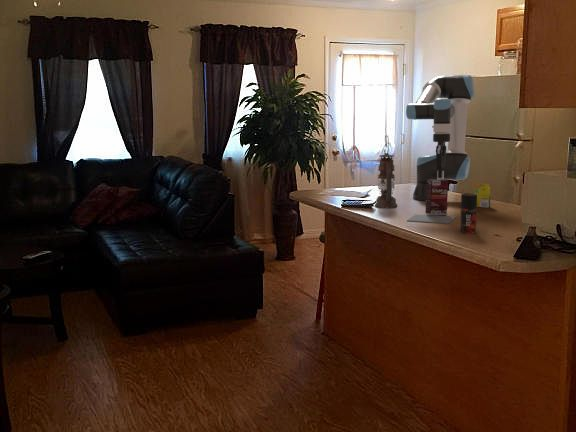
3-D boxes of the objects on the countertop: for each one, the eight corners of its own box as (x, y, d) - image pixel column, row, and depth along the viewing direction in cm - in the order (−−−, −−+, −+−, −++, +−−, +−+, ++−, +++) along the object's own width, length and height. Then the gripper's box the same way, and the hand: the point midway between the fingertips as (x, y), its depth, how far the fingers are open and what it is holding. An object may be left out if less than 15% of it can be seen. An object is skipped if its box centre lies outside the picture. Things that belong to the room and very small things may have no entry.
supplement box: (430, 215, 280) (431, 180, 278) (425, 214, 285) (426, 179, 283) (447, 215, 282) (448, 180, 280) (442, 213, 287) (443, 179, 285)
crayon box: (490, 207, 302) (491, 183, 300) (488, 207, 300) (489, 183, 297) (475, 205, 306) (475, 182, 304) (473, 206, 304) (474, 183, 301)
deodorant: (473, 230, 250) (474, 193, 247) (477, 233, 244) (479, 195, 242) (458, 230, 250) (459, 193, 247) (462, 233, 244) (464, 195, 241)
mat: (415, 215, 285) (415, 214, 284) (455, 217, 277) (455, 216, 277) (406, 221, 271) (407, 220, 271) (449, 223, 264) (449, 222, 264)
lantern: (393, 203, 318) (394, 134, 311) (400, 208, 302) (401, 136, 295) (372, 204, 317) (372, 134, 311) (378, 209, 301) (378, 136, 295)
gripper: (436, 132, 291) (435, 182, 295) (430, 133, 279) (429, 186, 284) (452, 132, 288) (451, 183, 292) (447, 133, 276) (445, 186, 281)
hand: (440, 184), depth 288 cm, fingers closed
